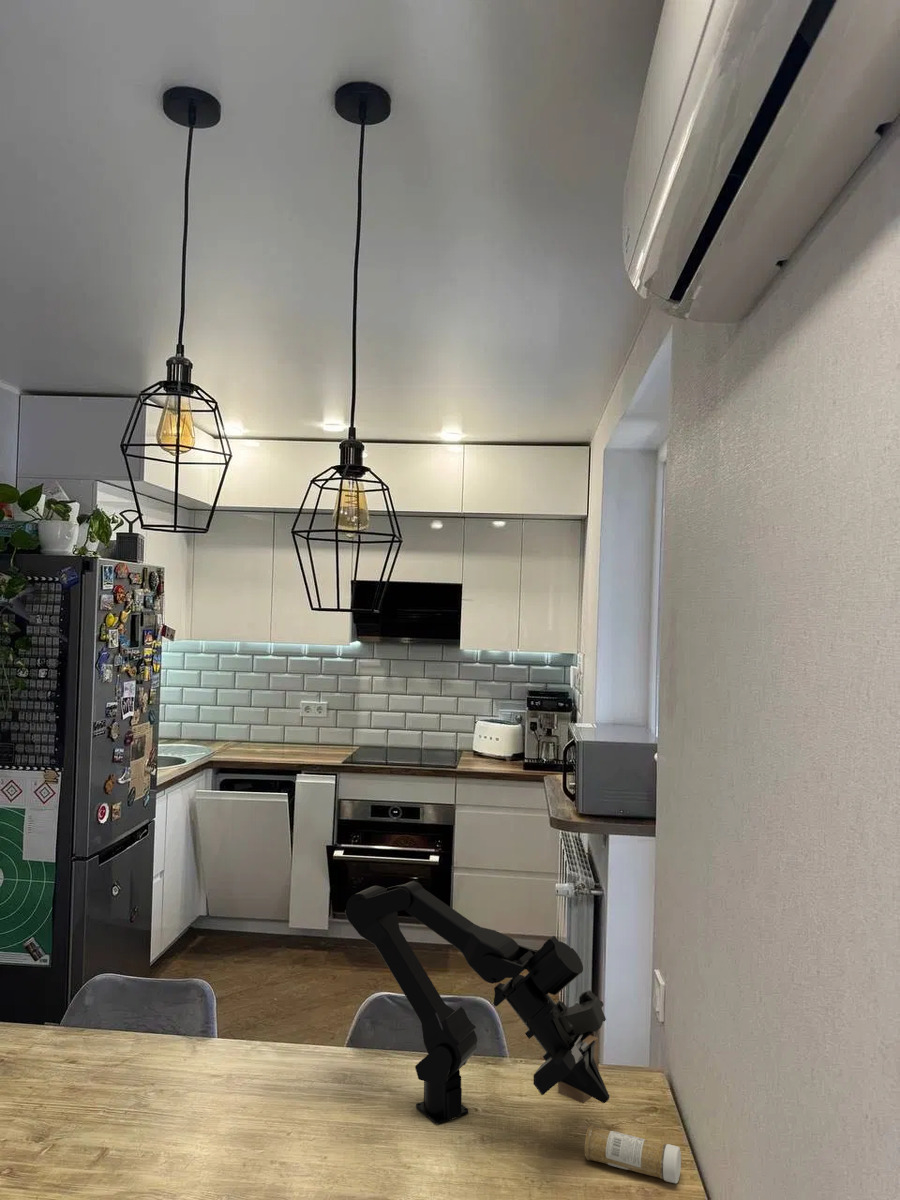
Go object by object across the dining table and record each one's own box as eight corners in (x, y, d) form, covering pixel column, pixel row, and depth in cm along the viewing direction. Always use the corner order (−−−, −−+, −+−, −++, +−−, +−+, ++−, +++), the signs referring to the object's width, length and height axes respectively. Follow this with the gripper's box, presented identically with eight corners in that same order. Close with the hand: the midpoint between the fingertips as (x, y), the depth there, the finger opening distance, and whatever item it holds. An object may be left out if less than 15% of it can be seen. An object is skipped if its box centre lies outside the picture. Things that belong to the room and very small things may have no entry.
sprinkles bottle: (586, 1165, 126) (678, 1191, 120) (581, 1147, 124) (675, 1172, 118) (593, 1135, 129) (683, 1158, 124) (589, 1117, 127) (679, 1140, 122)
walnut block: (558, 1093, 145) (558, 1039, 146) (573, 1082, 149) (573, 1029, 150) (583, 1103, 142) (583, 1047, 143) (598, 1091, 146) (598, 1038, 146)
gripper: (554, 1002, 122) (630, 1098, 117) (589, 961, 139) (657, 1044, 134) (503, 1047, 125) (575, 1143, 120) (544, 1001, 142) (608, 1084, 137)
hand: (607, 1100), depth 127 cm, fingers closed
